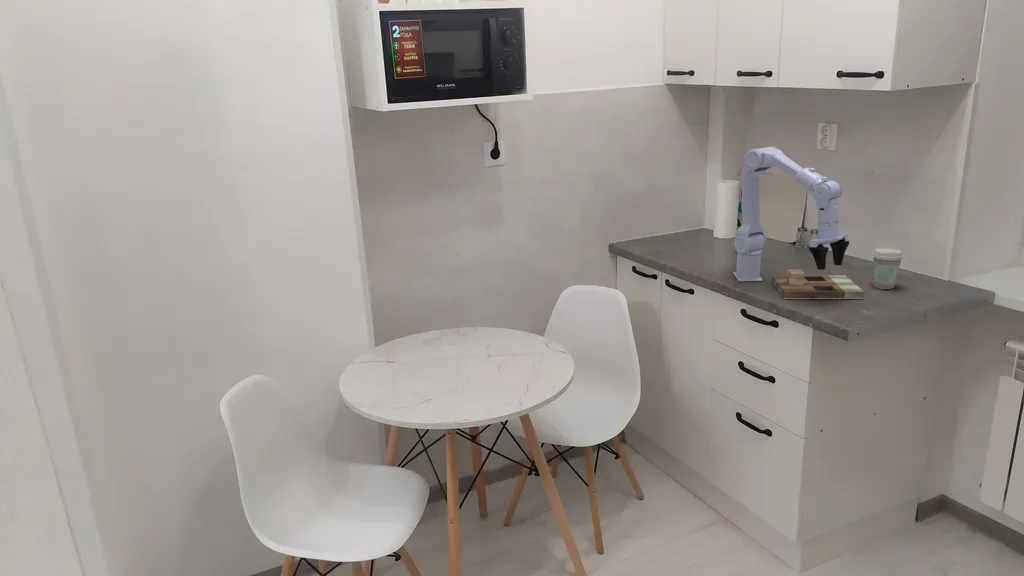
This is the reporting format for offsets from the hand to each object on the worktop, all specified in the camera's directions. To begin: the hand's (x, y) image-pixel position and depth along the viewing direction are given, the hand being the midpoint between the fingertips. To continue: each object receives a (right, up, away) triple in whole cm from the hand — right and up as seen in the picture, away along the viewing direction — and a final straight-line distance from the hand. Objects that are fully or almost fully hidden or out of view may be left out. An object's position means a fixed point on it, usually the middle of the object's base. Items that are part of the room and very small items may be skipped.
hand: (829, 267), depth 213 cm
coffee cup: (+23, -6, +14) cm, 28 cm away
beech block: (-5, -5, +12) cm, 14 cm away
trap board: (+1, -7, +12) cm, 14 cm away
